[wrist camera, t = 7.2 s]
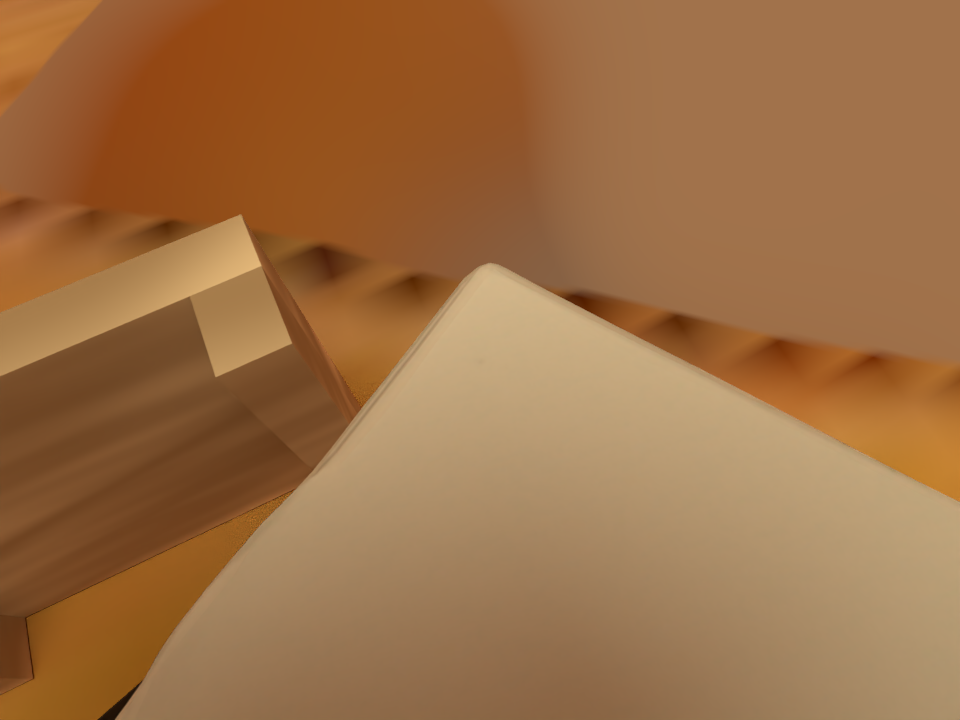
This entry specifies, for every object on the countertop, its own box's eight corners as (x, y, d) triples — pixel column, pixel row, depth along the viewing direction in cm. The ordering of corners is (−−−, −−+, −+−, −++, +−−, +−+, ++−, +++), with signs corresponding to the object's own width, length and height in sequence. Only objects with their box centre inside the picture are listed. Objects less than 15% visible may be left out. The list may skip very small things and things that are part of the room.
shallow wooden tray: (401, 497, 18) (292, 343, 10) (-15, 701, 16) (-565, 722, 8) (364, 413, 19) (240, 214, 11) (-25, 595, 17) (-511, 521, 9)
